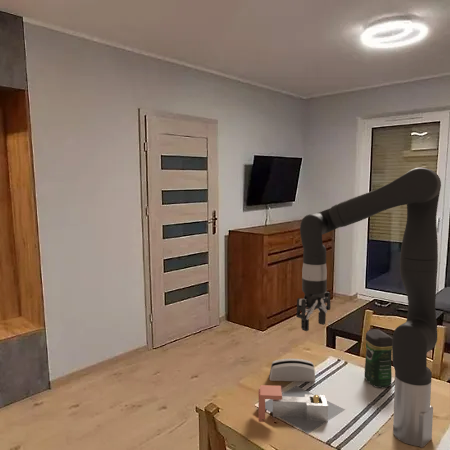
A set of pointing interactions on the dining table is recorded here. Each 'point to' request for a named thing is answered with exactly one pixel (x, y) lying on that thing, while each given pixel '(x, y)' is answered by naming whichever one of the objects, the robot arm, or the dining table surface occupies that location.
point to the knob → (316, 399)
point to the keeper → (267, 397)
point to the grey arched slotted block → (292, 370)
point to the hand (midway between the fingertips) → (313, 327)
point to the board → (302, 422)
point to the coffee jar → (378, 358)
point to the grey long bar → (301, 408)
